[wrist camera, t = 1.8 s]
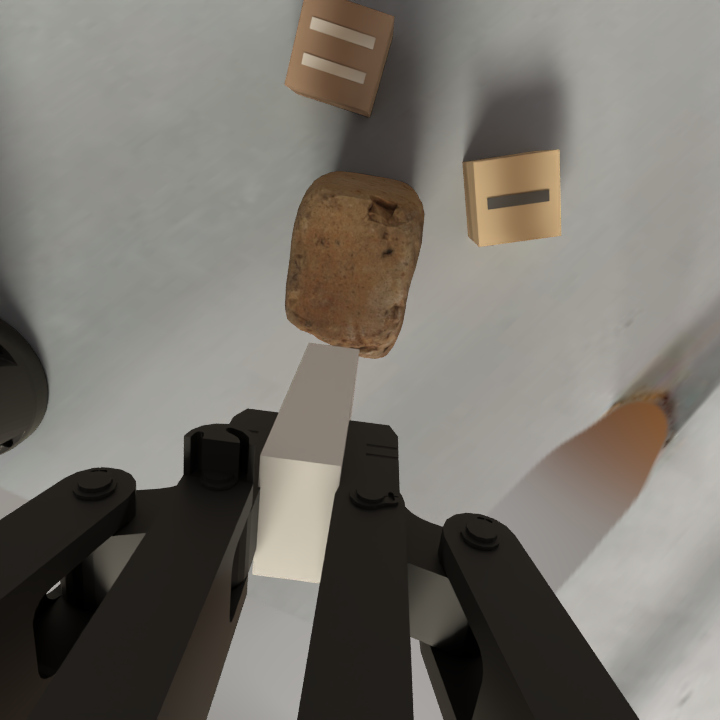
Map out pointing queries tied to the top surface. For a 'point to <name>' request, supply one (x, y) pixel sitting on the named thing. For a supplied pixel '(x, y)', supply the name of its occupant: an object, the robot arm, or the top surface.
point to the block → (354, 260)
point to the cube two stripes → (340, 54)
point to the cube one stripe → (513, 197)
